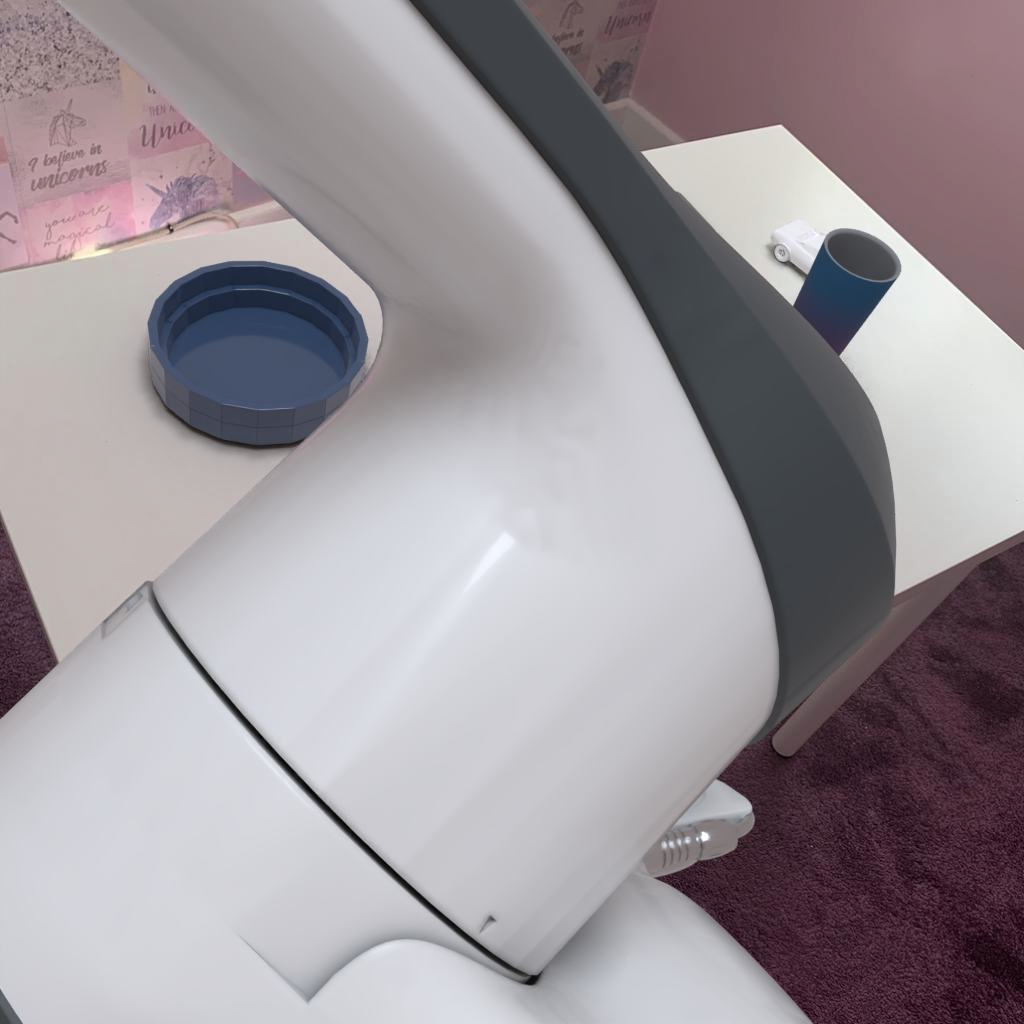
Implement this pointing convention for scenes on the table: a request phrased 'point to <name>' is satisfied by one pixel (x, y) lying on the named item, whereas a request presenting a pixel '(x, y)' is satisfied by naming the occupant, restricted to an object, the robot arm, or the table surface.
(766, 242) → the table surface
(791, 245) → the toy car
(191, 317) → the bowl
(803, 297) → the cup
